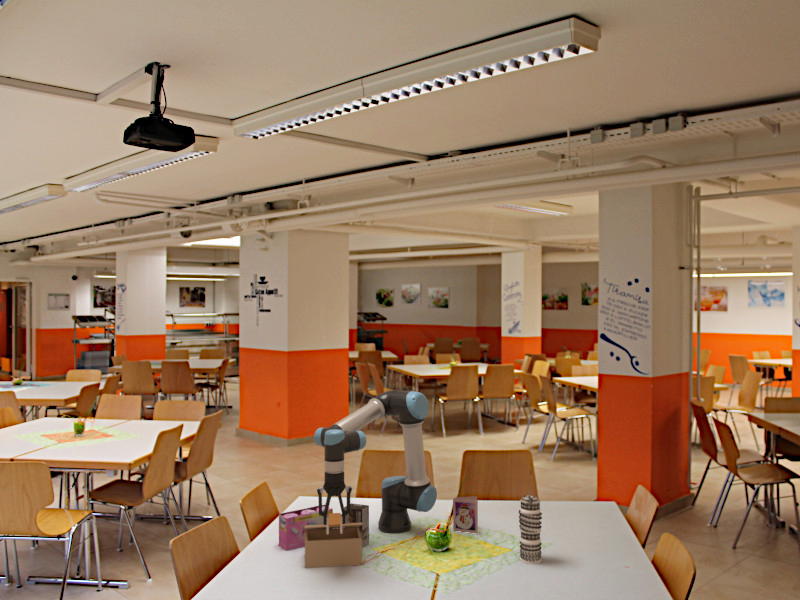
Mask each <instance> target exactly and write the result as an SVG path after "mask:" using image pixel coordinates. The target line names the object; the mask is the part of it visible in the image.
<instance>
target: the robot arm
mask: <svg viewBox="0 0 800 600" xmlns="http://www.w3.org/2000/svg"><path fill="white" fill-rule="evenodd" d="M429 409H430V406H429V401H428V399H427V397H426V395H424V393H422V392H420V391H415V390H402V389H401V390H400V389H391V390H387V391H385V392H382V393H380V394H378V395H376V396H374V397H372V398H370V399H369V400H368V402H367V404H365V405H363V406H362V407H360V408H358V409H357V410H355V411H354V412H352V413H350V414H348V415H347V416H345V417H344V418H341V419H340V420H339V421H337V422H335V423H333V424H331V425H330V426H328V427H325V426H324V427H319V428H317V429H316V430H315V432H314V434H313V440H314V443H315V444H316V445H317V446H320V447H323V448H324V471H325V472H324V482H323V485H322V487H317V488H316V493H317V495H318V506H319V515H322V516H323V517H324V525H326V532H327V534H329V515H327V513H328V508H329V507H330V502H331V500H332V499H331V498H333V497H337V498H338V503H339V506H340V507H339V508H340V511H341V524H340V534H342V524H345V516H346V515H347V514H350V504H351V493H352V491H353V487H352V486H350V485H346V483H345V472H344V471H345V454H347V453H352V452H356V451H357V452H358V451H359V450H362V449H364V448H365V447H366V445H367V436H366V434H365V433H364V432H363V431H361V429H362V428H364V427H366V426H367V425H368V424H370V423H372V422H373V421H376V420H379V419H382V418H384V417H388V416H390V417H397V421H398V424H399V425H400V426H401V428H402V438H403V446H404V447H403V448H404V459H405V467H406V476H405V475H395V476H388V477H385V478H384V479H383V480H382V481H381V513H380V516H379V519H378V521H377V522H378V523H377V525H378V526H377V529H378V530H379V531H381V532H384V533H387V534H402V533H406V532H409V531H410V530H411V529H412V522H411V519H410V516H409V513H408V512H409V511H408V510H413V511H417V512H423V513H427V512H429V511H431V510H432V508H433V507H434V506H435V504H436V501H437V496H438V491H437V488H436V487H435V486H434V485H431V479H430V477H428V476H427V468H426V457H425V448H424V438H423V427H422V426H423V425H422V424H423V423H424V422H425V419H426V417H427V416H428V414H429ZM344 490H345V492H346V506H347V510H344V507H345V506H344V503H343V498H342V493H343V491H344ZM324 492H325V493H326V494H327V497H326V500H325V504H324V505H325V509H324V512H323V511H322V505H323V496H322V494H324Z"/></svg>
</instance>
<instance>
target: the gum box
mask: <svg viewBox="0 0 800 600" xmlns="http://www.w3.org/2000/svg"><path fill="white" fill-rule="evenodd" d="M324 509H325V504H322V511H323V512H324ZM333 510H334V509H333V507H330V506H329V508H328V513H327V515H328V514H329V513H334V511H333ZM323 524H324V517H323V516H322V515H319V505H315V506H310V507H307V508H306V507H305V508H302V509H301V508H300V509H296V510H292V511H287V512H282V513H281V512H280V513H278V546H279V547H280V546H281V547H280V548H282V549H283V550H285V551H291V550H296V549H299V548H303V547H304V548H305V530H304V527H305V525H323ZM331 529H333V528H331ZM312 530H314V529H312Z"/></svg>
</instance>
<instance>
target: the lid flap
mask: <svg viewBox="0 0 800 600" xmlns="http://www.w3.org/2000/svg"><path fill="white" fill-rule="evenodd" d="M341 514H342V512H333V513H329V514H328V515H329V529H331V528H340V524H341ZM361 525H362V523H345V524H342V528H350V527H360V526H361ZM312 529H326V525H324V524H323V525H305V527H304V530H312Z"/></svg>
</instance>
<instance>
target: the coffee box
mask: <svg viewBox="0 0 800 600" xmlns="http://www.w3.org/2000/svg"><path fill="white" fill-rule="evenodd" d="M369 509H370V506H369V505H367V504H359V503H351V502H350V514H347V515H346V516H345V523H362V525H361V526H360V527H359V530H360V534H361V538H362V548H364V547H366V546H367V545H369V544H370V513H369V512H370V511H369ZM344 510H347V505H346V506H344ZM350 528H352V527H350Z"/></svg>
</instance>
